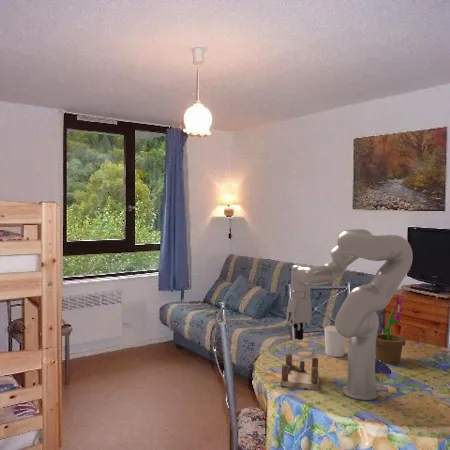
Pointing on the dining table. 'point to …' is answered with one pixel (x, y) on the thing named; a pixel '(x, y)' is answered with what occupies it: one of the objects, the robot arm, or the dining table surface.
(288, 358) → the hinged leg
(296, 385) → the stool
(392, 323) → the flowerpot
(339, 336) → the white paper cup
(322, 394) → the dining table surface
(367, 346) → the robot arm
